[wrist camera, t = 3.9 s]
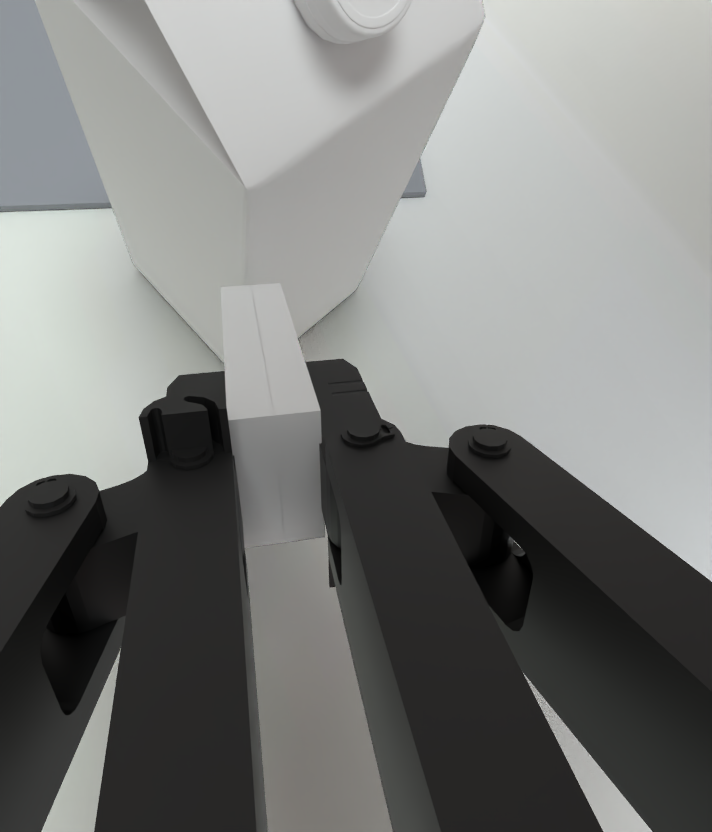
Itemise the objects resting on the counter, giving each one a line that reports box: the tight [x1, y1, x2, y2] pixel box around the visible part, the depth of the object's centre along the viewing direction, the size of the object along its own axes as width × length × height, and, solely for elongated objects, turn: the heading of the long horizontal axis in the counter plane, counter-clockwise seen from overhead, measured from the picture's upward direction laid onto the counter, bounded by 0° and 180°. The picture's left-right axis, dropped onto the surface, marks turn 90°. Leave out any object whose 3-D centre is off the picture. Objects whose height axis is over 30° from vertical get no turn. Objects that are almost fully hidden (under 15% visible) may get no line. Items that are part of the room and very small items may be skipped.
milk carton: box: [35, 0, 485, 363], centre depth 18 cm, size 7×7×19 cm
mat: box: [0, 0, 426, 212], centre depth 30 cm, size 22×17×1 cm
